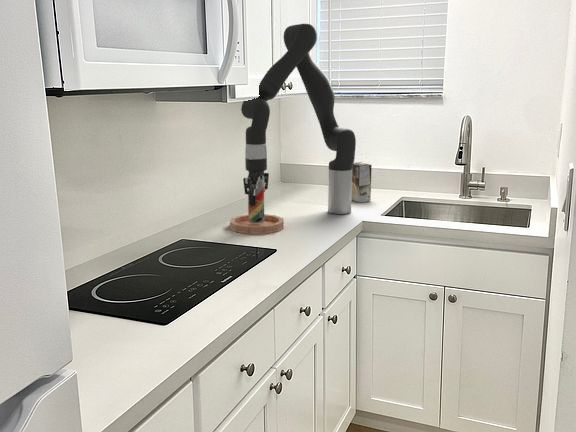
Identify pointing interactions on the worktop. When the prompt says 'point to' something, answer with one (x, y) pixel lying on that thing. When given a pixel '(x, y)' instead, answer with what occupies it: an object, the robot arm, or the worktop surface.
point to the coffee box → (361, 182)
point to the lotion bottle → (257, 204)
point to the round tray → (256, 225)
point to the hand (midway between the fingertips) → (256, 203)
